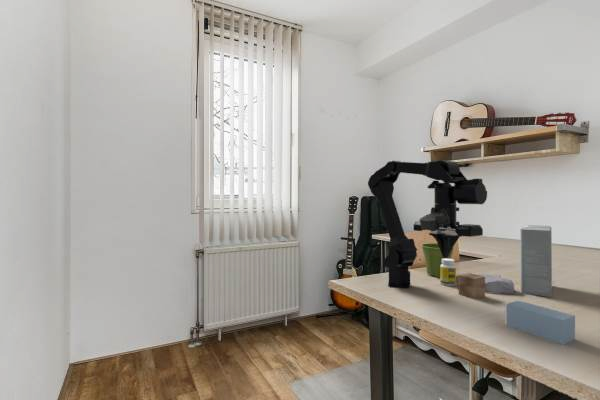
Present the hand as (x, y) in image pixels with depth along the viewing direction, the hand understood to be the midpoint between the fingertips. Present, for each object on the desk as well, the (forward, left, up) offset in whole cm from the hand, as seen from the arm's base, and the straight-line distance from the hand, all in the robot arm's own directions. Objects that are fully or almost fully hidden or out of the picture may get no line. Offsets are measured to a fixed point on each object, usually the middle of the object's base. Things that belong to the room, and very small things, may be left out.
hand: (445, 257), depth 88 cm
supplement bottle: (+3, +17, -12) cm, 21 cm away
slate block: (+12, -13, -10) cm, 21 cm away
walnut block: (+8, +6, -12) cm, 16 cm away
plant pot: (+1, +29, -12) cm, 32 cm away
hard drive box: (+29, +19, -12) cm, 37 cm away
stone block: (+15, +17, -13) cm, 26 cm away
